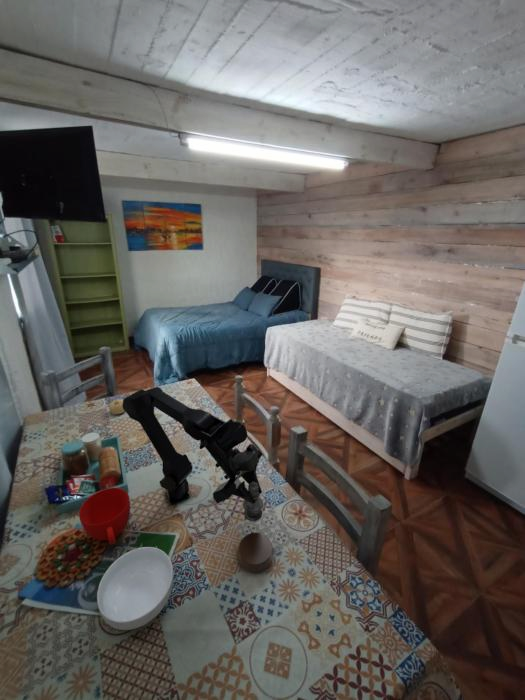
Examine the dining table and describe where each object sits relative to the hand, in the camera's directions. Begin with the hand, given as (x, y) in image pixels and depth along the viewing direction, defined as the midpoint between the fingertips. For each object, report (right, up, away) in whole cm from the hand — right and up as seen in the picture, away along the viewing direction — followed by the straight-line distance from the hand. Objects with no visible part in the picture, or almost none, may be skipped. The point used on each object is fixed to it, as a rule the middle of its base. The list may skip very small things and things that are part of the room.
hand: (257, 498), depth 88 cm
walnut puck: (-1, -15, -2) cm, 15 cm away
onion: (-68, +11, +65) cm, 95 cm away
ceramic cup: (-43, -13, +4) cm, 45 cm away
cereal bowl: (-28, -19, -12) cm, 36 cm away
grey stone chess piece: (-1, -6, +3) cm, 7 cm away
